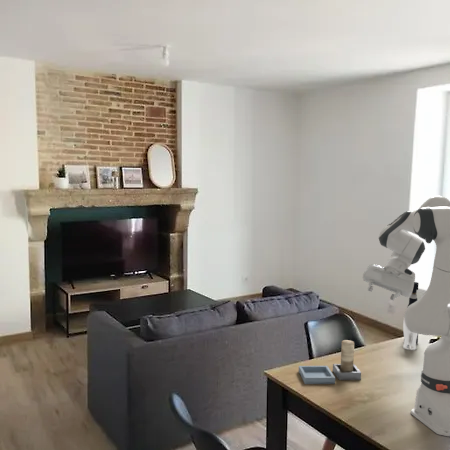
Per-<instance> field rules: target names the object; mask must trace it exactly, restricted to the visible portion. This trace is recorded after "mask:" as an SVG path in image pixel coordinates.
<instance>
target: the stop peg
mask: <svg viewBox="0 0 450 450" xmlns="http://www.w3.org/2000/svg"><path fill="white" fill-rule="evenodd" d="M340 349H341V352H340V364H341V369H340V371H341V372H353V364H354V359H355V357H354V355H355V341H353V340H351V339H350V340H348V339H344V340H341V347H340Z"/></svg>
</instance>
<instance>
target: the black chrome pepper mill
mask: <svg viewBox="0 0 450 450" xmlns="http://www.w3.org/2000/svg"><path fill="white" fill-rule="evenodd" d="M418 290H419V282H417V281H414V287H413V291H412V294H411V296H410V297H408V305H407V307H408V306H409V305H411V304H412V303H414V302H416V301H417V300H418V295H417V291H418ZM418 342H419V334H418V335H417V339H416V345H418V344H419V343H418Z"/></svg>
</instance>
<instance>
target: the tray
mask: <svg viewBox="0 0 450 450" xmlns="http://www.w3.org/2000/svg"><path fill="white" fill-rule="evenodd" d="M298 374H299V375H300V377H301V379H302V381H303V383H304V385H327V384H328V385H330V384H331V385H335V384H336V375H335V374H334V372H333V371H331V369H330V368H329V366H328V365H298Z"/></svg>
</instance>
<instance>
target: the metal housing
mask: <svg viewBox="0 0 450 450" xmlns="http://www.w3.org/2000/svg"><path fill="white" fill-rule="evenodd" d="M340 369H341V363H333V364H332V373H333V375H334V376H335V378H337V379H338V381H361V379H362V372H361V370H360V369H359V368H358V367H357V365H356V364H355V363H353V372H341V371H340Z"/></svg>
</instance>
